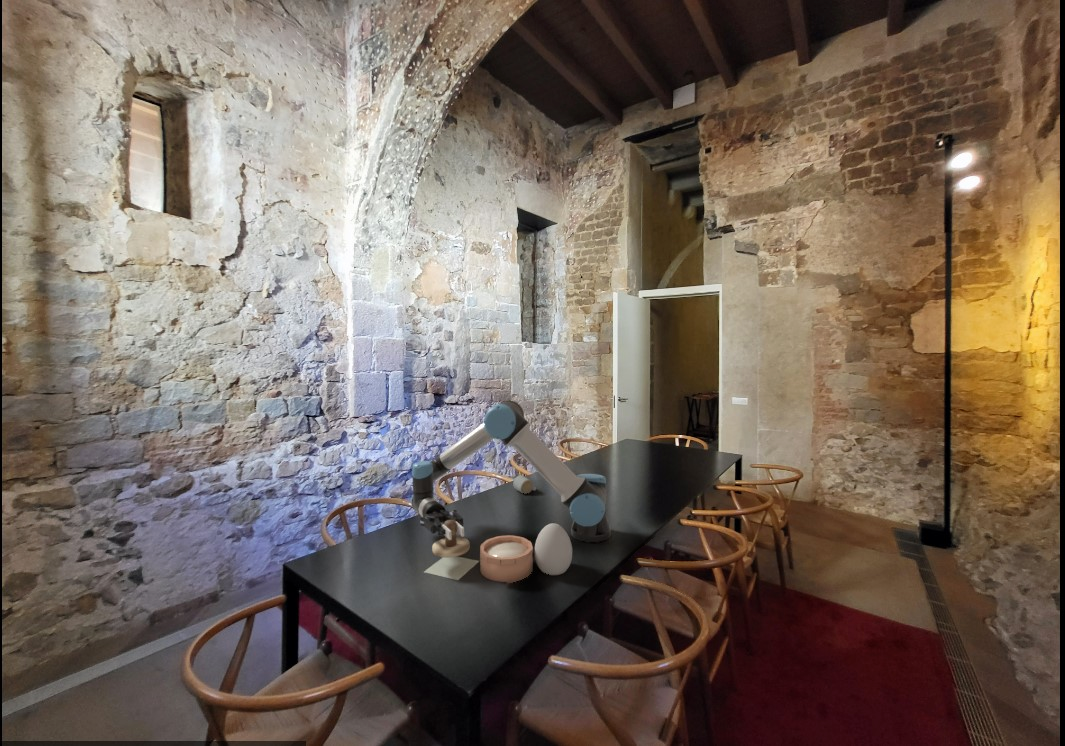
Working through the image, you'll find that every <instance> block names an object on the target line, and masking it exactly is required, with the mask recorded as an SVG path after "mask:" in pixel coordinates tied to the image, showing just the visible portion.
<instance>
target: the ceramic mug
mask: <svg viewBox="0 0 1065 746" xmlns="http://www.w3.org/2000/svg"><path fill="white" fill-rule="evenodd" d="M512 485H513V489H514V490H516V491H518V492H520V493H521V494H523V493H524V494H523V495H528V494H529V493H531V492H533V491H535V492H536V490H537V487H536V486H535V485H534V483H533V482H532V480H531V479H529V478H527V477H526V476H525V475H523V474H522V475H521V474H519V475H517V476H516V477H514V479H513V483H512ZM527 493H528V494H527Z"/></svg>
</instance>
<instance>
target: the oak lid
mask: <svg viewBox="0 0 1065 746" xmlns="http://www.w3.org/2000/svg"><path fill="white" fill-rule="evenodd" d="M444 525H445V526H446V527H447V528H449V529H450V530H451V535H452V540H449V539H448V538H447V537H446V536H445V535H444V538H441V539H439V540H436V541H435V542H434V543H433V544H432V546H431V548H432V549H431V551H432V554H434V556H436V557H439V558H443V557H445V558H449V557H456V556H457V557H461V556H462V555H464V554H466V553H467V552H469V550H470V547H471V546H470V544H471V543H470V541H469V540H468V539H467V538H466V537H462V536H457V532H456V521H455V520H447V521H445V524H444Z"/></svg>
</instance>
